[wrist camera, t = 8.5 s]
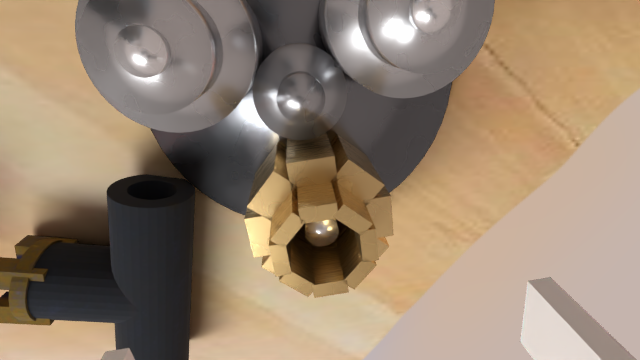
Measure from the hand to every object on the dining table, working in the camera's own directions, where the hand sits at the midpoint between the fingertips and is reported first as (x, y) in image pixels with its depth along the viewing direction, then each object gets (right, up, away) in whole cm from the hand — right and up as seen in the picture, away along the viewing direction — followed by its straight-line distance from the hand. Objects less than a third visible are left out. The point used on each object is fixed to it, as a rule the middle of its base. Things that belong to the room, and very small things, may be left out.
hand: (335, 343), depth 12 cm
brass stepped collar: (-1, +5, +12) cm, 13 cm away
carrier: (-2, +12, +11) cm, 16 cm away
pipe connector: (-16, -1, +15) cm, 22 cm away
